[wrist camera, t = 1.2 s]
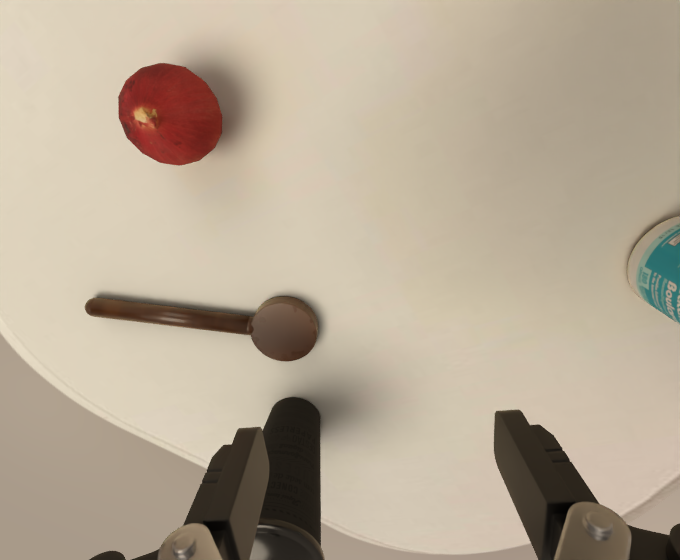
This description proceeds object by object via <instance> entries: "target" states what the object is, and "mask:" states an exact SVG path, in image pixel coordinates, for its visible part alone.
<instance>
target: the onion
mask: <svg viewBox="0 0 680 560" xmlns="http://www.w3.org/2000/svg"><path fill="white" fill-rule="evenodd" d="M118 98H119V119H120V122H121V124H122V127H123V129H124V132H125V134H126V136H127V138H128V139H129V140H130V141H131V142H132V143H133V144H134V145H135V146H136V147H137V148H138V149H139V150H140V151H141V152H142V153H143V154H145V155H147V156H149V157H151V158H153V159H154V160H156V161H158V162H161V163H165V164H172V165H184V164H188V163H192V162H196V161H199V160H201V159H202V158H203V157H204V156H206V155H207V154H208V153H209V152H211V151H212V150H213V149H214V148H215V146H216V144H217V142H218V140H219V138H220V136H221V134H222V114H221V111H220V107H219V104H218V101H217V98H216V97H215V95H214V94H213V92H212V91H211V89H210V88H209V86H208V85H207V84H206V82H205V81H203V80H202V79H201V78H200V77H198V76H197V75H195V74H194V73H193V72H191V71H190V70H188V69H187V68H186V67H182V66H177V65H172V64H166V63H159V64H155V65H151V66H147V67H143V68H141V69H140V70H138V71H137V72H136V73H135V74H133V75H132V76H131V77H130V78H128V79H127V80H126V82H125V84H124V86H123V88H122V90H121V92H120V95H119V97H118Z"/></svg>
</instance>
